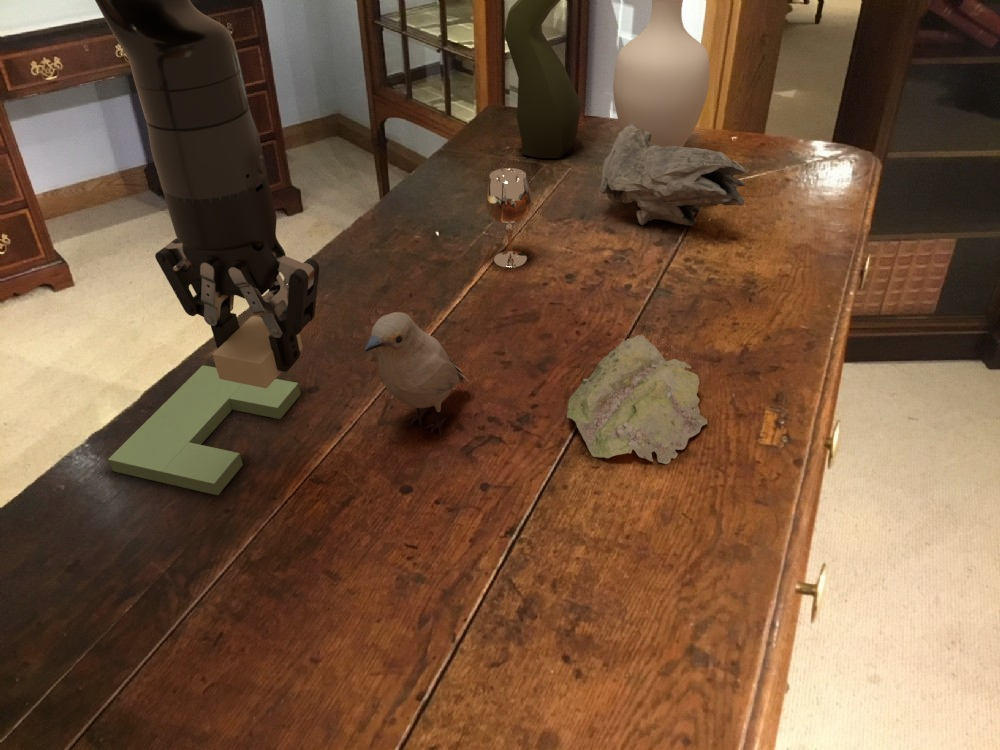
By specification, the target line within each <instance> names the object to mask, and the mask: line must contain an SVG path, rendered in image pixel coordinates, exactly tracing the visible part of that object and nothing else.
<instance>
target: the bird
mask: <svg viewBox="0 0 1000 750" xmlns="http://www.w3.org/2000/svg"><path fill="white" fill-rule="evenodd" d="M370 332H371V333H370V337H369V338H368V341H367V343H366V346H365V348H364V350H363V352H369V351H371V350H375V349H376V353H377V360H378V367H379V372H380V379H381V380H380V381H381V383H382V384H383V385H384V387H385V389H386V391H388V392H389V393H390V394H391V395H392V396H393V397H395V398H396V399H397V400H399V401H400V402H402V403H404V404H406V405H408V406H409V407H411V408H415V409H416V414H415V415H411V416H409V417H407V418H406V419H405V421H408V420H411V419H412V420H411V422H410V426H412V425H413V423H415V422H416V421H418V424H419V425H420V427H422V426H423V425H422V423H423V421H422V420H423V418H424V414H425V413H426V412H427V411H429V410H428V409H427V408H430V407H434V408H435V419H436V422H435V423H431V424H429V425H427V426H426V427H425V428H424V430H427V429H429V428H431V429H430V431H429V435H431V434H432V433H433V432H434V431H435V430H436V429H437V430H438V434H439V436H442V427H443V423H444V422H445V421H446V420H447V419H448V417H443V418H442V419H440V413H441V410H442V404H443V402H444V401H445V400H446V399H447V398H448V396H449V395H450V393H451V391H452V390H453V389H455V388H456V387H457V385H458V384H459V383H461V384H463V385H464V384H465V382H468V383H470V381H469V380H468V378H467V377H466V375H465V373H464V372H463V370H462V369H461V368H460V367H459V365H458V364H456V362H455V361H453V360H452V359H451V358H450V357H449V355H448V353H447V351H446V350H445V349H444V348H443V346H442V344H441V343H440V342H439V341H438V340H437V339H436V338H435V337H434V336H432V335H430V334H428V333H427V332H425V331H424V330H423V329H422V328H420V327H419V326H418V325H417V324H416V322H415V321H414V320H413V319H412V318H411V316H409V314H407V313H405V312H402V311H401V312H400V311H394V312H390V313H387V314H385V315H382V316H381V317H380V318H379V319H378V320H377V321H376V322H375V323H374V325H373V327H372V328H371V331H370ZM464 380H465V382H464ZM420 409H424V410H422V411H421V410H420Z"/></svg>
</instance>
